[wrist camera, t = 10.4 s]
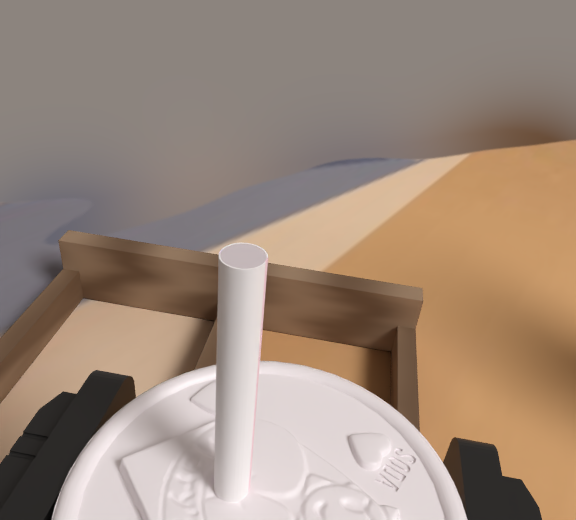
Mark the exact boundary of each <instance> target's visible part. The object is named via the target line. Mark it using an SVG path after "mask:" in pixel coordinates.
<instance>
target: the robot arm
mask: <svg viewBox="0 0 576 520" xmlns="http://www.w3.org/2000/svg"><path fill="white" fill-rule="evenodd" d="M135 398H136V395H135V385H134V380H133V378H132V377H131V376H126V375H120V374H115V373H109V372H104V371H99V370H95V371H93V372H92V373H91V374H90V375H89V377H88V378H87V379H86V381H85V383H84V384H83V386H82V387H81V389H80V390H79V392H78V393H77V394H73V393H68V392H62V393H61V394H59V395H58V396H56V397H55V398H54V399H52V400H51V401H50V402H48V403H47V404H46V405H44V406H43V407H42V408H40V409H39V410H38V412H37V413H36V415H35V416H34V417H33V419H32V420H31V422H30V423H29V424H28V426H27V427H26V429H25V430H24V431H23V435H22V437H21V436H20V437H19V438H18V440H17V441H16V443H15V444H14V445H13V447H12V448H11V450H10V453H9V455H6V457H5V458H4V459H3V461H2V462H1V464H0V520H52V516H53V512H54V507H55V505H56V502H57V499H58V496H59V493H60V491H61V488H62V486H63V484H64V482H65V479H66V477H67V475H68V473H69V471H70V469H71V468H72V466H73V464H74V463H75V461H76V459H77V457H78V456H79V454H80V453H81V452H82V450H83V449H84V447H85V446H86V445H87V443H88V442H89V441H90V439H91V438H92V437H93V436H94V435H95V434H96V432H97V431H98V430H99V429H100V428H101V427H102V426H103V425H104V424H105V423H106V422H107V421H108V420H109V419H110V418H111V417H112V416H113V415H114V414H115V413H117V412H118V411H119V410H120V409H121V408H123V407H124V406H125V405H126V404H128V403H129V402H131V401H132V400H133V399H135ZM443 464H444V465H445V467H446V469H447V471H448V473H449V474H450V476H451V478H452V480H453V482H454V484H455V486H456V489H457V491H458V494H459V496H460V498H461V501H462V504H463V507H464V510H465V514H466V517H467V520H542V518H541V514H540V510H539V507H538V505H537V503H536V502H535V500H534V499H533V497H532V496H531V494H530V492H529V491H528V489H527V488H526V486H525V485H524V483H523V481H522V480H520V479H515V478H510V477H505V476H502V472H501V467H500V461H499V456H498V452H497V449H496V447H495V446H494V445H493V444H488V443H482V442H477V441H472V440H466V439H461V438H453V439H452V441H451V443H450V446H449V448H448V451H447V454H446V456H445V459H444V462H443Z"/></svg>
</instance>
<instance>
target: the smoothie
mask: <svg viewBox="0 0 576 520" xmlns="http://www.w3.org/2000/svg"><path fill="white" fill-rule="evenodd" d="M267 266H268V254H267V252H266V251H265V250H264V249H263V248H261V247H259V246H257V245H254V244H250V243H234V244H230V245H227V246H225V247H224V248H222V249H221V250H220V252H219V262H218V311H217V360H216V365H212V366H208V367H204V368H200V369H196V370H193V371H190V372H187V373H183V374H181V375H179V376H176V377H174V378H171V379H169V380H167V381H165V382H163V383H161V384H158V385H156V386H154V387H153V388H151V389H149V390H148V391H146V392H144V393H142V394H141V395H139V396H138V397H136V398H135V399H133V400H132V401H131V402H129V403H128V404H126V405H125V406H124V407H123V408H121V409H120V410H119V411H118V412H117V413H115V414H114V415H113V416H112V417H111V418H110V419H109V420H108V421H107V422H106V423H105V424H104V425H103V426H102V427H101V428H100V429H99V430H98V431H97V432H96V434H95V435H94V436H93V437H92V438H91V439H90V441H89V442H88V443H87V445H86V446H85V447H84V449H83V450H82V452H81V453H80V454H79V456H78V457H77V459H76V461H75V463H74V464H73V466H72V468H71V469H70V471H69V473H68V475H67V477H66V479H65V482H64V484H63V486H62V488H61V491H60V493H59V496H58V499H57V502H56V505H55V507H54V512H53V516H52V520H467V517H466V514H465V510H464V507H463V504H462V501H461V498H460V496H459V494H458V491H457V489H456V486H455V484H454V482H453V480H452V478H451V476H450V474H449V473H448V471H447V469H446V467H445V465H444V464H443V462H442V461H441V459H440V458H439V456H438V455H437V453H436V452H435V450H434V449H433V448H432V446H431V445H430V444H429V442H428V441H427V440H426V439H425V438H424V436H423V435H422V434H421V433H420V432H419V431H418V430H417V429H416V428H415V426H413V425H412V424H411V423H410V422H409V421H408V420H407V419H406V418H405V417H404V416H403V415H402V414H401V413H399V412H398V411H397V410H396V409H394V408H393V407H392V406H391V405H389V404H388V403H386V402H385V401H384V400H382V399H381V398H379V397H378V396H376V395H375V394H373V393H371V392H370V391H368V390H366V389H365V388H363V387H361V386H359V385H357V384H355V383H353V382H351V381H349V380H346V379H344V378H341V377H339V376H337V375H335V374H331V373H328V372H325V371H322V370H318V369H315V368H311V367H308V366H304V365H297V364H291V363H283V362H277V361H260V355H261V342H262V329H263V317H264V304H265V291H266V278H267Z"/></svg>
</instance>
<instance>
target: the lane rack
mask: <svg viewBox="0 0 576 520" xmlns="http://www.w3.org/2000/svg"><path fill="white" fill-rule="evenodd" d="M59 246H60V252H61V258H62V264H63V270H62V271H61V272H60V273H59V274H58V275H57V276H56V277H55V279H54V280H53V281H52V282H51V283H50V284H49V285H48V286H47V287H46V289H45V290H44V291H43V292H42V293H41V294H40V295H39V296H38V297H37V298H36V300H35V301H34V302H33V303H32V304H31V305H30V306H29V307H28V308H27V310H26V311H25V312H24V313H23V314H22V315H21V316H20V317H19V318H18V320H17V321H16V322H15V323H14V324H13V325H12V326H11V327H10V328H9V329H8V331H7V332H6V333H5V334H4V335H3V336H2V337H1V338H0V403H1V402H2V401H3V399H4V398H5V397H6V395H7V394H8V393H9V392H10V390H11V389H12V388H13V387H14V385H15V384H16V383H17V381H18V380H19V379H20V378H21V376H22V375H23V374H24V373H25V371H26V370H27V369H28V367H29V366H30V365H31V364H32V362H33V361H34V360H35V359H36V357H37V356H38V355H39V354H40V352H41V351H42V350H43V348H44V347H45V346H46V345H47V343H48V342H49V341H50V340H51V338H52V337H53V336H54V334H55V333H56V332H57V331H58V329H59V328H60V327H61V326H62V324H63V323H64V322H65V320H66V319H67V318H68V317H69V315H70V314H71V313H72V312H73V310H74V309H75V308H76V307H77V305H78V304H79V303H80V301H81V300H82V299H83V298H87V299H93V300H99V301H104V302H110V303H116V304H121V305H127V306H133V307H138V308H144V309H150V310H156V311H161V312H167V313H173V314H178V315H184V316H190V317H195V318H201V319H207V320H213V321H215V323H214V325H213V327H212V330H211V332H210V334H209V337H208V339H207V341H206V344H205V346H204V348H203V351H202V353H201V355H200V358H199V360H198V362H197V365H196V367H195V369H194V370H196V369H200V368H204V367H208V366H212V365H216V360H217V311H218V262H219V255H217V254H211V253H204V252H198V251H192V250H186V249H180V248H174V247H168V246H162V245H156V244H150V243H144V242H138V241H131V240H125V239H119V238H113V237H107V236H101V235H95V234H89V233H83V232H76V231H71V230H69V231H67V232H66V233H65V234H64V235H63V236H62V237H61V239H60V240H59ZM422 304H423V290H422V288H418V287H412V286H405V285H399V284H393V283H387V282H381V281H375V280H369V279H363V278H357V277H351V276H345V275H338V274H332V273H326V272H320V271H314V270H308V269H302V268H296V267H290V266H284V265H278V264H271V263H268V266H267V278H266V291H265V304H264V317H263V329H264V330H270V331H275V332H281V333H287V334H292V335H298V336H304V337H309V338H315V339H321V340H327V341H332V342H338V343H344V344H349V345H355V346H361V347H366V348H372V349H378V350H384V351H389V352H391V390H390V405H391V406H392V407H393V408H394V409H396V410H397V411H398V412H399V413H401V414H402V415H403V416H404V417H405V418H406V419H407V420H408V421H409V422H410V423H411V424H412V425H413V426H415V428H416V429H417V430H418V431H419V432H420V427H419V403H418V379H417V355H416V331H415V329H416V325H417V321H418V318H419V314H420V311H421V307H422Z"/></svg>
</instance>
